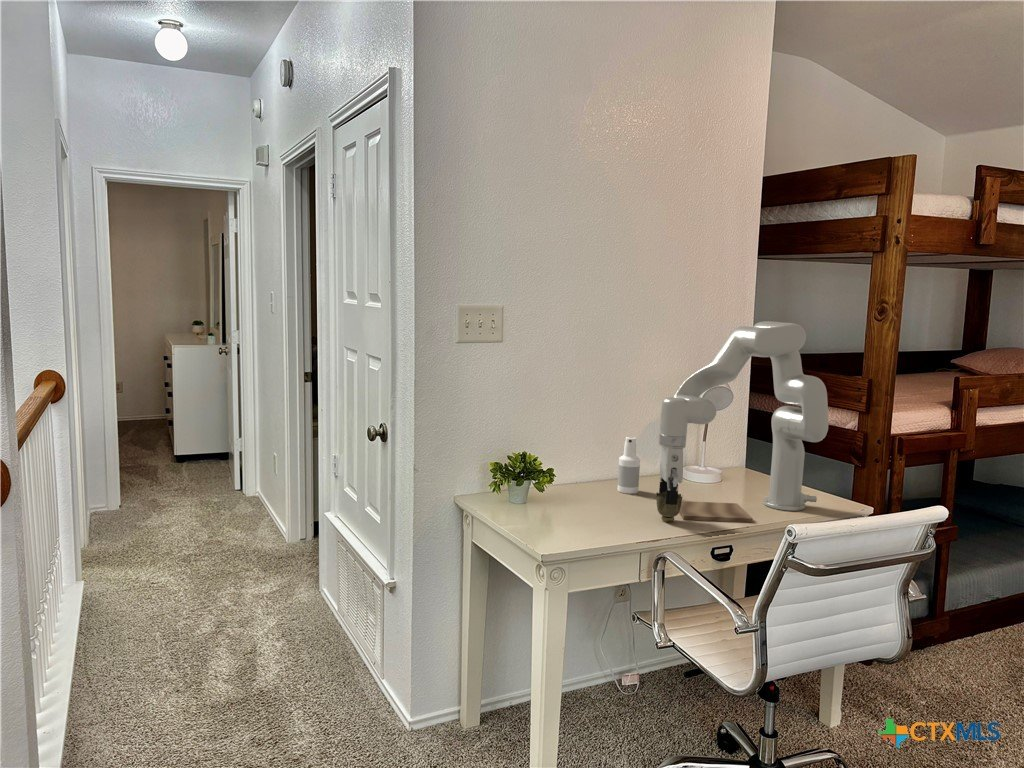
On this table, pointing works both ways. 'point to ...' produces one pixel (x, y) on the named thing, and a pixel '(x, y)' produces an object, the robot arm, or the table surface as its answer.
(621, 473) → the spray bottle
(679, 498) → the cup
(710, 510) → the walnut board
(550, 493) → the table surface
